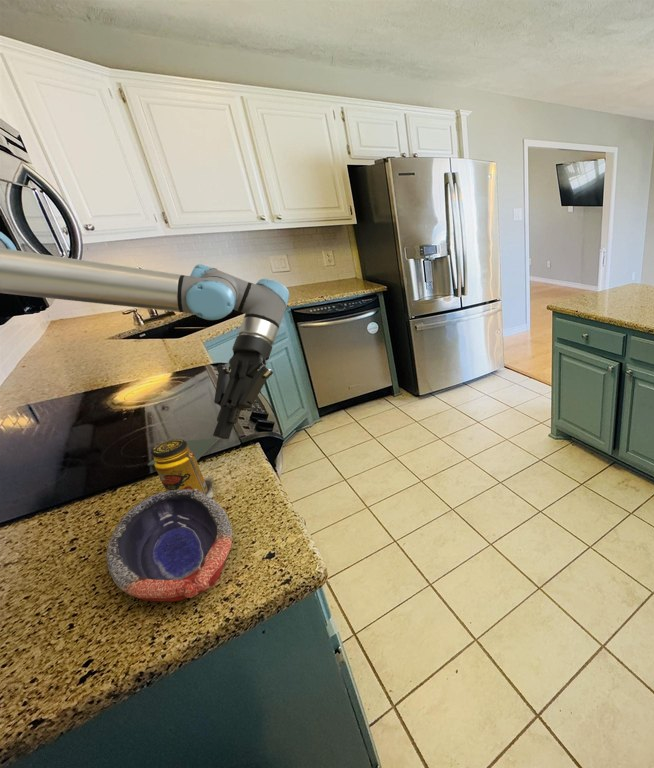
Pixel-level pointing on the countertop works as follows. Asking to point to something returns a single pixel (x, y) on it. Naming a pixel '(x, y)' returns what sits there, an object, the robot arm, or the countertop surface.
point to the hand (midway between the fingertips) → (220, 437)
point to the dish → (170, 546)
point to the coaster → (196, 448)
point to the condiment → (180, 468)
